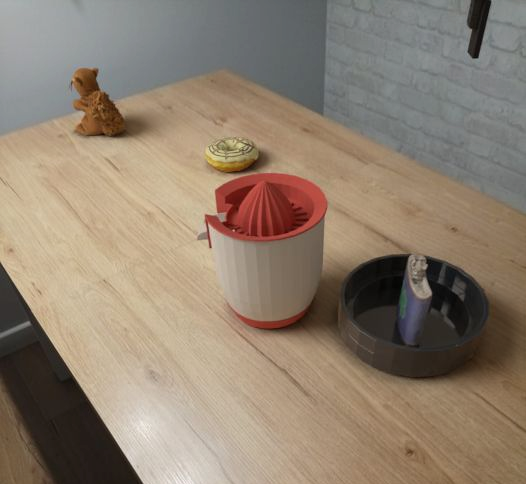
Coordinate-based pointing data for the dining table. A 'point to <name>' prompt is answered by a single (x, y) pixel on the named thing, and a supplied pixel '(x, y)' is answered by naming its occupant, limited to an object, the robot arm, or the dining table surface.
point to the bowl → (436, 325)
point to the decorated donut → (231, 154)
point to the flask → (413, 301)
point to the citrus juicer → (267, 246)
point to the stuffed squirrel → (95, 106)
